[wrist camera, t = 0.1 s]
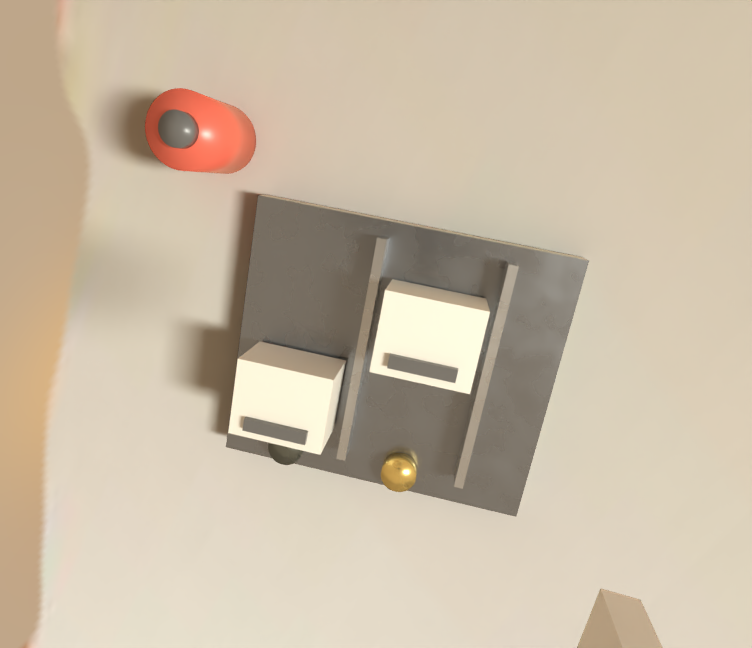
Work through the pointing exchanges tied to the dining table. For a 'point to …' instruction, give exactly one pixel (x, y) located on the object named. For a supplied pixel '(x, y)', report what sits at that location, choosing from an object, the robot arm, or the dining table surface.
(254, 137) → the cap
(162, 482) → the dining table surface
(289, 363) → the breaker
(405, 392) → the panel
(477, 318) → the block
